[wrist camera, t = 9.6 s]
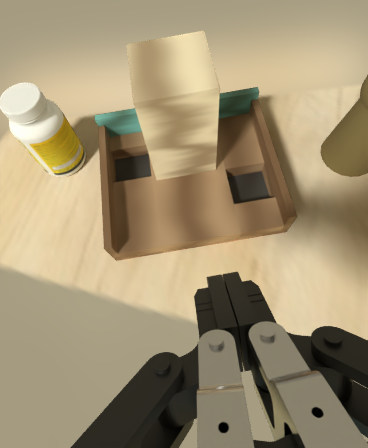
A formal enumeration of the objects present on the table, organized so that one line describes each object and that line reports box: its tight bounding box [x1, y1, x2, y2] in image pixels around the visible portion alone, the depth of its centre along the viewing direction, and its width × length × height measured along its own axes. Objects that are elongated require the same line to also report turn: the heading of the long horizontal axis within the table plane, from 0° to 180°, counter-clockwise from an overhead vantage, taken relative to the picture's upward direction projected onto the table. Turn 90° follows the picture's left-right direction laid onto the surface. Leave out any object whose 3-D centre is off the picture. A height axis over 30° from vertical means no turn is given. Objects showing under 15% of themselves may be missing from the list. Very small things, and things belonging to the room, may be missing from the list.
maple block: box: [127, 31, 220, 180], centre depth 28 cm, size 6×6×11 cm
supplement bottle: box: [0, 83, 86, 177], centre depth 32 cm, size 5×5×10 cm
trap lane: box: [95, 87, 297, 261], centre depth 32 cm, size 18×15×5 cm
